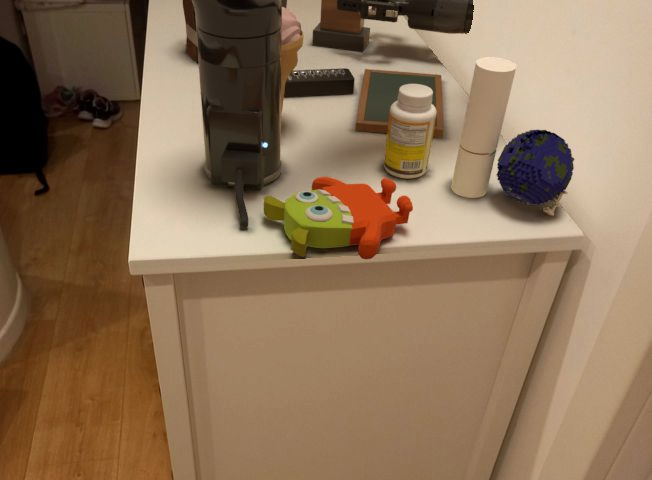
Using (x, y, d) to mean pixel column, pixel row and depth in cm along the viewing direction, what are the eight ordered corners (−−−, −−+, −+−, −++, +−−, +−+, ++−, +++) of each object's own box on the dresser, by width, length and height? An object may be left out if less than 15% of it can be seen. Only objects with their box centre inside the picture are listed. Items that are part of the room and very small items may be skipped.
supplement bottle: (402, 155, 90) (413, 76, 83) (435, 171, 87) (450, 91, 80) (373, 168, 87) (382, 88, 80) (407, 185, 84) (419, 103, 77)
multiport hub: (354, 94, 104) (355, 78, 103) (282, 97, 103) (283, 81, 101) (347, 82, 108) (348, 67, 106) (278, 85, 106) (278, 70, 104)
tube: (463, 200, 82) (491, 73, 72) (444, 183, 85) (468, 59, 75) (493, 194, 83) (524, 68, 73) (473, 177, 86) (500, 55, 76)
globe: (527, 212, 84) (557, 155, 84) (565, 217, 77) (599, 154, 76) (477, 181, 82) (508, 122, 81) (511, 183, 75) (546, 118, 74)
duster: (362, 52, 118) (368, -12, 111) (312, 45, 119) (314, -18, 113) (369, 42, 121) (374, -20, 114) (320, 36, 123) (322, -26, 116)
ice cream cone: (312, 117, 98) (318, -40, 84) (282, 150, 90) (284, -18, 77) (242, 104, 100) (237, -51, 87) (207, 134, 93) (196, -30, 79)
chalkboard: (442, 138, 94) (444, 129, 93) (355, 130, 95) (356, 122, 94) (440, 82, 109) (441, 74, 108) (364, 76, 110) (365, 68, 109)
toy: (435, 221, 71) (300, 243, 67) (429, 254, 74) (298, 277, 69) (375, 158, 81) (254, 173, 77) (371, 189, 84) (254, 205, 80)
